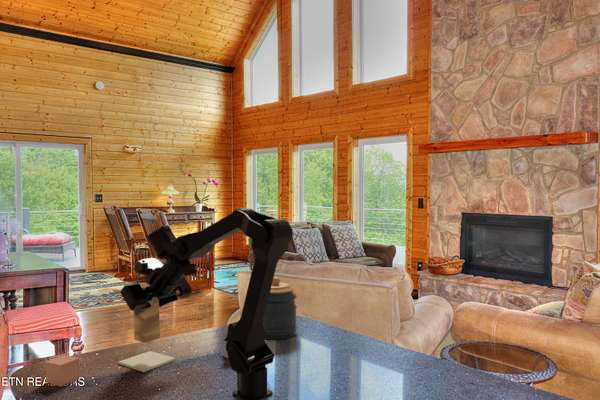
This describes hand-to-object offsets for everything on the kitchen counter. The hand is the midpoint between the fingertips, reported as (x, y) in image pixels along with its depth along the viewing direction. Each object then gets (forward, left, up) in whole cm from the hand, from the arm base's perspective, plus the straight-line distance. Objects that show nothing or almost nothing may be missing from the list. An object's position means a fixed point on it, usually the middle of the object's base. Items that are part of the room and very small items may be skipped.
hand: (143, 311), depth 128 cm
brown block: (-1, 0, -7) cm, 7 cm away
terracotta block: (+2, +20, -13) cm, 24 cm away
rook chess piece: (-13, -18, -13) cm, 26 cm away
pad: (-1, 0, -13) cm, 13 cm away
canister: (-7, -40, -13) cm, 43 cm away
